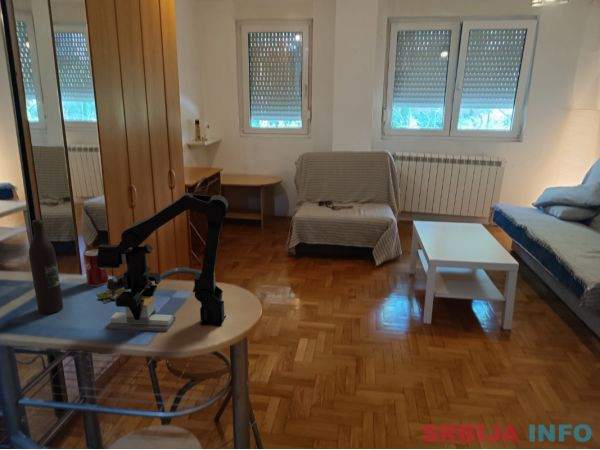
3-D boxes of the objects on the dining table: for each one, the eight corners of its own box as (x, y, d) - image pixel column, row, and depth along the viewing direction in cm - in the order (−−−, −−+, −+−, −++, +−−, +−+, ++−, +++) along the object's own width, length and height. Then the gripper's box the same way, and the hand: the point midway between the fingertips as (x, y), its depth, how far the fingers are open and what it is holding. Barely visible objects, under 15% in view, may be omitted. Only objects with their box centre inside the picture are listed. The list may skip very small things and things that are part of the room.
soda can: (85, 287, 157) (81, 256, 154) (89, 279, 164) (85, 249, 160) (107, 285, 159) (103, 255, 156) (110, 278, 166) (106, 248, 162)
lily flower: (100, 308, 143) (99, 295, 142) (90, 295, 152) (88, 283, 151) (137, 298, 151) (135, 285, 149) (125, 286, 160) (123, 275, 158)
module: (156, 314, 135) (154, 296, 133) (148, 323, 129) (146, 305, 127) (135, 313, 135) (133, 295, 134) (127, 322, 130) (125, 304, 128)
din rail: (175, 319, 135) (174, 312, 135) (167, 331, 129) (166, 323, 128) (119, 317, 137) (118, 309, 136) (108, 328, 130) (107, 320, 129)
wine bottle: (52, 316, 137) (37, 224, 128) (33, 313, 138) (17, 222, 130) (68, 306, 143) (55, 218, 135) (49, 303, 145) (35, 216, 136)
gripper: (125, 254, 137) (129, 299, 141) (93, 278, 119) (100, 329, 123) (159, 256, 136) (163, 301, 141) (133, 279, 118) (138, 330, 123)
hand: (141, 314), depth 132 cm, fingers closed on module, 6 cm apart
